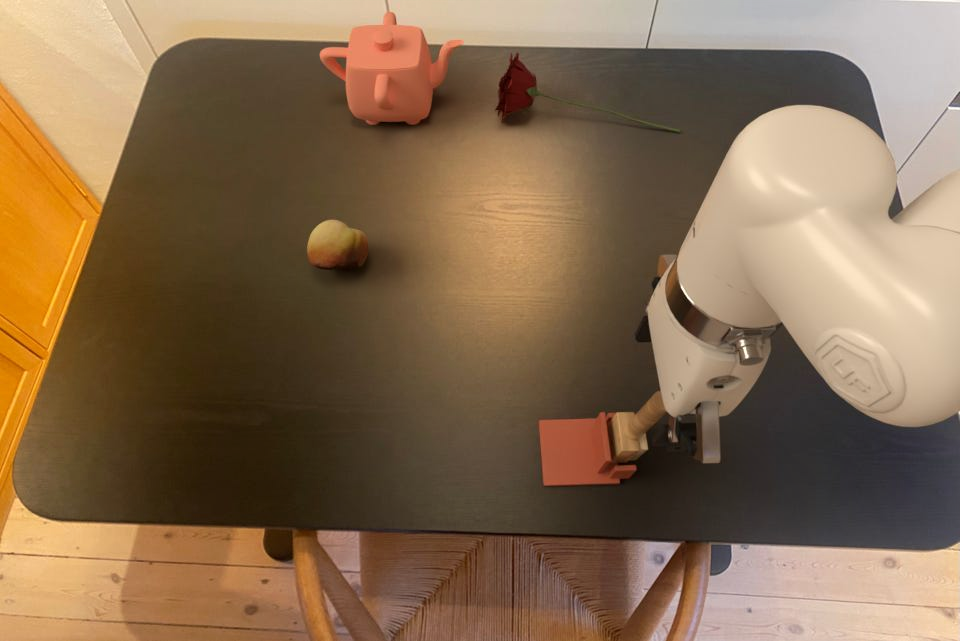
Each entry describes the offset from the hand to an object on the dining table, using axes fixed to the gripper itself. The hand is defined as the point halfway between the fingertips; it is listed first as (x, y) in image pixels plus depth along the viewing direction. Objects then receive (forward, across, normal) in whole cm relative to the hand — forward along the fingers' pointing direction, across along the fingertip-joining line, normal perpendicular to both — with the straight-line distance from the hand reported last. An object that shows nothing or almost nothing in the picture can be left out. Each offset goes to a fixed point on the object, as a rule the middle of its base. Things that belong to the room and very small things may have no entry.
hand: (660, 388), depth 53 cm
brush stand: (+23, +1, +4) cm, 23 cm away
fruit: (+22, +29, +35) cm, 50 cm away
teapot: (+22, +60, +28) cm, 69 cm away
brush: (+12, +1, -2) cm, 13 cm away
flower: (+22, +55, -3) cm, 59 cm away
